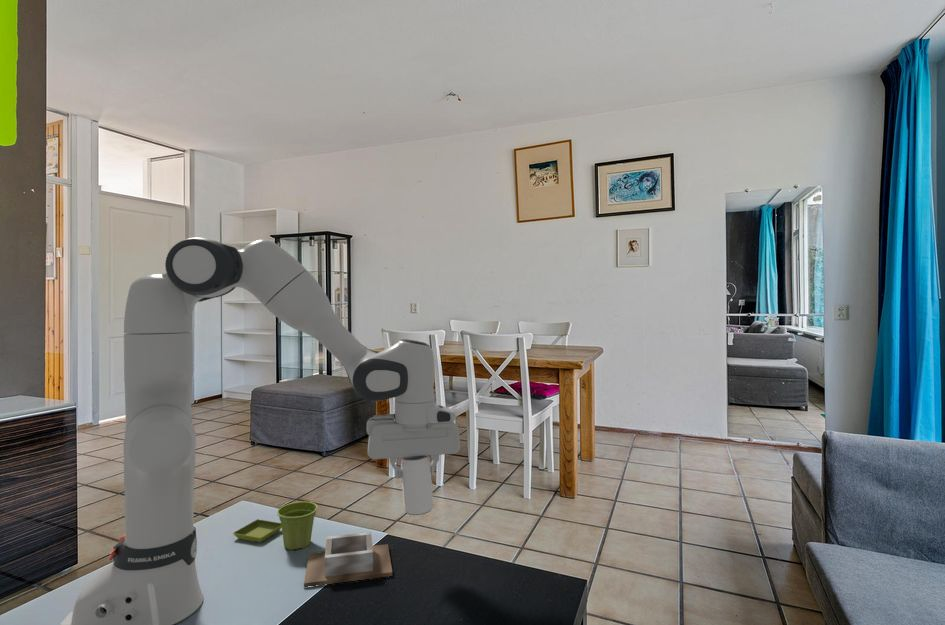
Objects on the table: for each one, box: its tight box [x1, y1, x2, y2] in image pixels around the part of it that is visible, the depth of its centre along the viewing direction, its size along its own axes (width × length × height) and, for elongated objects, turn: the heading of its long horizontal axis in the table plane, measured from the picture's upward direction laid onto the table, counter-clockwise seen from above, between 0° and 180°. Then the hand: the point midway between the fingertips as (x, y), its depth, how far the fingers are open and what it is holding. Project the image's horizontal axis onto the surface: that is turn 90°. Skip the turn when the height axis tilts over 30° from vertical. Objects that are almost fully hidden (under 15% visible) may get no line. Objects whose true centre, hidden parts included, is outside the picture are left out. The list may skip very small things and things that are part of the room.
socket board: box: [303, 531, 393, 588], centre depth 109 cm, size 18×13×6 cm
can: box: [400, 456, 434, 516], centre depth 108 cm, size 6×6×12 cm
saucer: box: [232, 519, 282, 543], centre depth 124 cm, size 9×9×2 cm
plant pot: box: [276, 501, 319, 550], centre depth 119 cm, size 9×9×9 cm
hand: (414, 475), depth 108 cm, fingers closed on can, 6 cm apart
